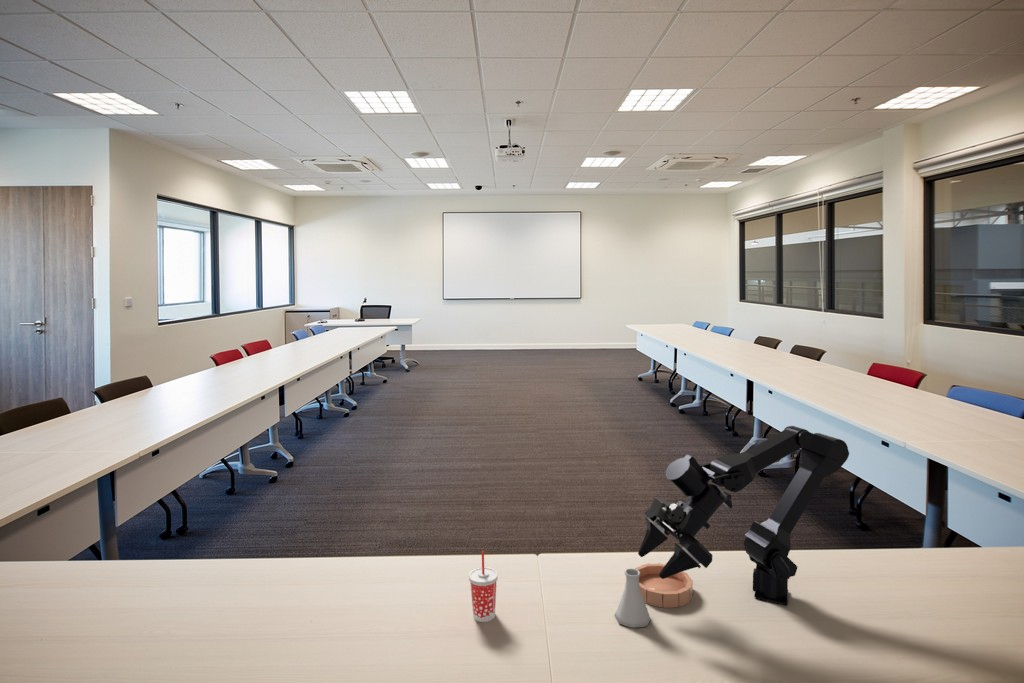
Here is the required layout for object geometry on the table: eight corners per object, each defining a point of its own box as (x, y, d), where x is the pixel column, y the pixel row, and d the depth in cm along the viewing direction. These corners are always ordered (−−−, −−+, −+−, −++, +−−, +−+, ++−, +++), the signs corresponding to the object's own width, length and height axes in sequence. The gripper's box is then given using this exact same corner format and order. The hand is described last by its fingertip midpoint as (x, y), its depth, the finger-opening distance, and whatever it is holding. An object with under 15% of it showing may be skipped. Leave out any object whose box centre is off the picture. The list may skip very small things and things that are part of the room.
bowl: (696, 583, 122) (696, 571, 122) (685, 613, 111) (685, 599, 111) (640, 571, 128) (640, 559, 128) (624, 598, 117) (624, 585, 117)
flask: (651, 630, 105) (651, 582, 105) (614, 627, 107) (614, 579, 106) (649, 610, 112) (649, 564, 112) (614, 606, 114) (614, 561, 113)
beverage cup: (482, 604, 116) (480, 542, 115) (504, 613, 112) (503, 549, 111) (463, 617, 111) (462, 553, 110) (486, 627, 107) (485, 561, 106)
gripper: (652, 471, 119) (606, 523, 117) (699, 501, 100) (645, 564, 99) (683, 502, 121) (638, 554, 119) (735, 537, 103) (683, 599, 101)
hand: (649, 566), depth 110 cm, fingers open, 9 cm apart
